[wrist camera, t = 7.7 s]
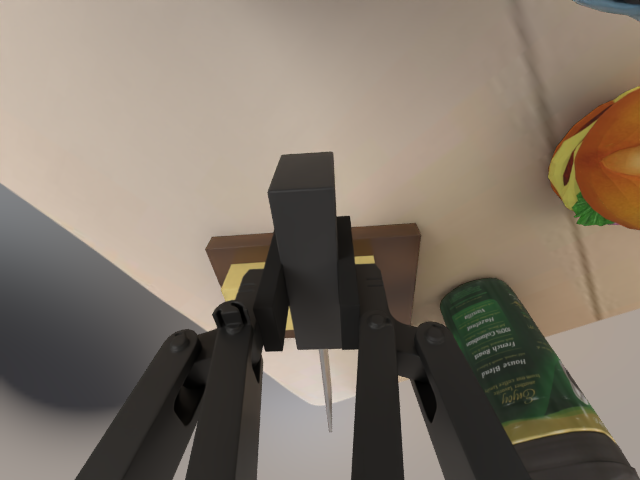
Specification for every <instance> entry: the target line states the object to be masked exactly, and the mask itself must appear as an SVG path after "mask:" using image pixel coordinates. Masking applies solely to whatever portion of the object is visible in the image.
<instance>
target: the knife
mask: <svg viewBox="0 0 640 480" xmlns="http://www.w3.org/2000/svg"><path fill="white" fill-rule="evenodd" d="M268 198H269V203H270V208H271V213H272V219H273V224H274V229H275V234H276V240H277V245H278V250H279V255H280V261H281V265H282V270H283V275H284V280H285V286H286V291H287V296H288V301H289V308H290V313H291V318H292V324H293V329H294V334H295V339H296V345H297V349H298V350H309V349H319V354H320V362H321V370H322V378H323V386H324V395H325V403H326V410H327V419H328V427H329V432H332V388H331V378H330V367H329V356H328V349H341V348H342V341H341V321H340V301H339V275H338V240H337V218H336V197H335V177H334V157H333V152H319V153H303V154H288V155H281V158H280V160H279V163H278V166H277V168H276V171H275V173H274V176H273V179H272V181H271V184H270V187H269V189H268Z"/></svg>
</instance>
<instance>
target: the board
mask: <svg viewBox="0 0 640 480" xmlns="http://www.w3.org/2000/svg"><path fill="white" fill-rule="evenodd" d="M351 231H352V239H353V248H354V257H358V256H374V261H375V264H376V265H377V267H378V268H379V269H380V270H381V274H382V280H383V283H384V288H385V293H386V297H387V302H388V307H389V310H390V313H391V315H392V316H393V317H394V318H395V319H396V320H397V321H399V322H401V323H403V324H406V325H410V324H411V315H412V307H413V298H414V290H415V281H416V273H417V264H418V256H419V247H420V239H421V234H420V232H419V229H418V227H417V225H416V223H410V224H395V225H381V226H366V227H352V228H351ZM272 236H273V233H265V234H250V235H236V236H221V237H212V238H211V240H210V242H209V243H208V245H207V247H206V249H205V250H206V252H207V255H208V257H209V259H210V262H211V264H212V267H213V269H214V272H215V274H216V276H217V279H218V281H219V284H220V286H221V288H222V286H223V283H224V281H225V279H226V276H227V274H228V271H229V269H230V267H231V264H244V263H260V262H266V258H267V255H268V251H269V247H270V244H271V240H272ZM285 338H295V334H294V330H286V331H285Z"/></svg>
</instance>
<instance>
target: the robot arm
mask: <svg viewBox="0 0 640 480" xmlns="http://www.w3.org/2000/svg"><path fill="white" fill-rule="evenodd" d="M572 1H574V2H576V3H577V4H580V5H583V6H586V7H589V8H592V9H595V10H599V11H602V12H607V13H614V14H622V15H628V16H630V17H632V18H633V19H635V20H637V21H639V22H640V0H572ZM336 218H337V240H338V275H339V301H340V321H341V341H342V350H354V349H359V350H358V368H357V385H356V403H355V421H354V439H353V457H352V475H351V480H404V469H403V452H402V436H401V419H400V402H399V386H398V375H399V376H402V377H406V378H409V379H410V381H411V383H412V386H413V389H414V392H415V395H416V397H417V401H418V404H419V406H420V409H421V412H422V415H423V418H424V421H425V423H426V426H427V429H428V432H429V435H430V438H431V441H432V444H433V446H434V449H435V452H436V455H437V458H438V461H439V464H440V466H441V469H442V472H443V475H444V478H445V480H532V479H531V477H530V475H529V474H528V472H527V470H526V468H525V466H524V464H523V463H522V461H521V459H520V457H519V455H518V453H517V452H516V450H515V448H514V446H513V444H512V442H511V441H510V439H509V437H508V435H507V433H506V431H505V430H504V428H503V426H502V424H501V422H500V420H499V418H498V417H497V415H496V413H495V411H494V409H493V407H492V406H491V404H490V402H489V400H488V398H487V396H486V395H485V393H484V391H483V389H482V387H481V385H480V384H479V382H478V380H477V378H476V376H475V374H474V373H473V371H472V369H471V367H470V365H469V363H468V362H467V360H466V358H465V356H464V354H463V352H462V351H461V349H460V347H459V345H458V343H457V341H456V340H455V338H454V336H453V334H452V333H451V332H450V330H449V329H448V328H447V327H445V326H444V325H442V324H440V323H437V322H425V323H422V324H420V325H419V326H418V327H414V326H410V325H406V324H403V323H401V322H399V321H397V320H396V319H395V318H394V317H393V316H392V315H391V313H390V310H389V307H388V302H387V297H386V293H385V288H384V283H383V280H382V274H381V270H380V269H379V268H378V267H377V265H376V264H375V263H371V264H355V257H354V248H353V239H352V231H351V222H350V216H339V217H336ZM288 310H289V301H288V296H287V291H286V286H285V280H284V275H283V270H282V265H281V261H280V255H279V250H278V245H277V240H276V234H275V229H274V233H273V236H272V240H271V244H270V247H269V251H268V255H267V258H266V262H265V266H264V269H249V270H248V271H247V273H246V274H245V275H244V276H243V278H242V281H241V284H240V286H239V289H238V292H237V295H236V298H235V300H230V301H226V302H224V303H222V304H220V305H219V306H218V307H217V308H216V309H215V310H214V312H213V314H212V315H213V318H214V320H215V323H216V325H217V327H218V328H217V329H215V330H212V331H209V332H206V333H203V334H199V335H197V334H196V333H195V332H194V331H193V330H189V329H185V330H181V331H178V332H175V333H174V334H172V335H171V336H170V337H168V338H167V340H166V341H165V342H164V343H163V345H162V346H161V348H160V350H159V351H158V353H157V354H156V356H155V357H154V359H153V360H152V362H151V363H150V365H149V366H148V368H147V369H146V371H145V373H144V374H143V376H142V377H141V379H140V380H139V382H138V384H137V385H136V386H135V388H134V389H133V391H132V393H131V394H130V396H129V397H128V399H127V400H126V402H125V403H124V405H123V406H122V408H121V409H120V411H119V413H118V414H117V416H116V417H115V419H114V420H113V422H112V423H111V425H110V426H109V428H108V429H107V431H106V433H105V434H104V436H103V437H102V439H101V440H100V442H99V443H98V445H97V446H96V448H95V449H94V451H93V452H92V454H91V456H90V457H89V459H88V460H87V462H86V464H85V465H84V466H83V468H82V469H81V471H80V473H79V474H78V476H77V477H76V479H75V480H172V479H173V477H174V475H175V472H176V470H177V468H178V465H179V463H180V461H181V459H182V456H183V454H184V452H185V449H186V447H187V444H188V443H189V440H190V438H191V436H192V433H193V431H194V429H195V426H196V424H197V428H196V432H195V437H194V442H193V447H192V451H191V455H190V460H189V465H188V469H187V474H186V479H185V480H257V463H258V444H259V428H260V410H261V392H262V374H263V358H262V355H261V353H262V348H263V345H264V349H265V352H269V351H283V345H284V338H285V331H286V324H287V317H288ZM197 422H198V423H197Z"/></svg>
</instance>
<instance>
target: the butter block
mask: <svg viewBox="0 0 640 480" xmlns="http://www.w3.org/2000/svg"><path fill="white" fill-rule="evenodd" d="M264 266H265V262H260V263H244V264H231V267H230V269H229V271H228V274H227V276H226V279H225V281H224V283H223V286H222V288H221V291H222V294H223V296H224V298H225V301H230V300H235V298H236V295H237V292H238V289H239V286H240V284H241V281H242V278H243V276H244V275H245V274H246V273H247V271H248V270H249V269H264ZM286 330H294V329H293V324H292V318H291V313H290V308H289V310H288V317H287V324H286Z"/></svg>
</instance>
